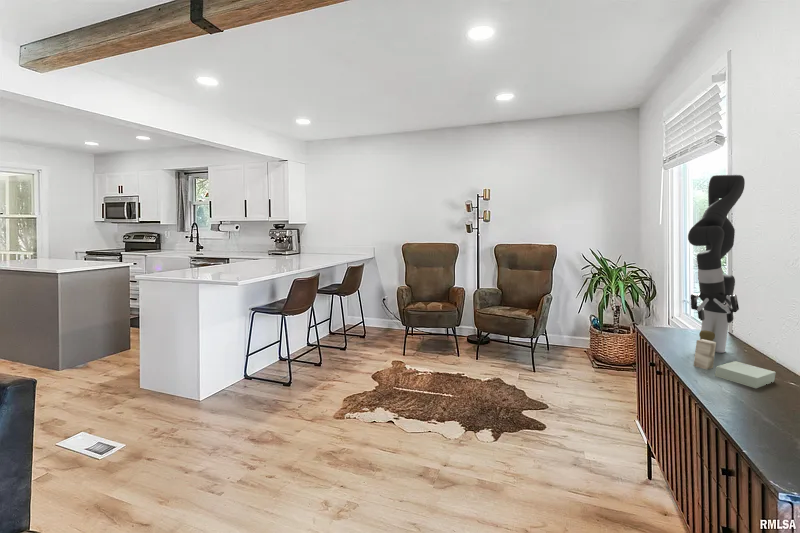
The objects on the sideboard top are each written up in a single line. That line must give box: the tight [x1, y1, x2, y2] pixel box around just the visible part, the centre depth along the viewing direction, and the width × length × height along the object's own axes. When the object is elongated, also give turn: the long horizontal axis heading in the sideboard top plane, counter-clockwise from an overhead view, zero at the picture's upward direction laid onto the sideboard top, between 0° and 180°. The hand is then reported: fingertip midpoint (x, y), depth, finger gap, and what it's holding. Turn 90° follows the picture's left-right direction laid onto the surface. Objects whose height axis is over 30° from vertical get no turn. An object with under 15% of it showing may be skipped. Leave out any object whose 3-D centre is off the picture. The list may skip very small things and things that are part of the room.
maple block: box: [693, 339, 716, 371], centre depth 159 cm, size 4×4×10 cm
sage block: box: [714, 360, 777, 389], centre depth 148 cm, size 14×12×4 cm
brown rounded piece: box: [699, 330, 715, 341], centre depth 171 cm, size 6×6×11 cm
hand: (715, 321), depth 157 cm, fingers open, 8 cm apart
